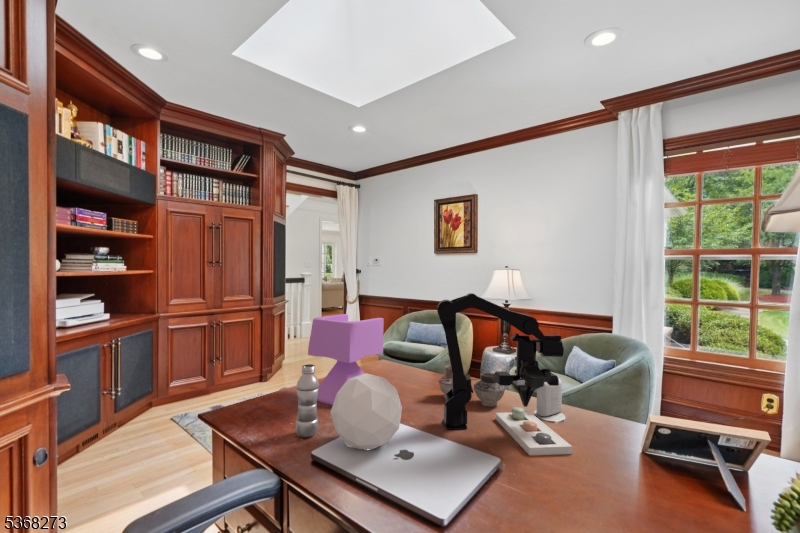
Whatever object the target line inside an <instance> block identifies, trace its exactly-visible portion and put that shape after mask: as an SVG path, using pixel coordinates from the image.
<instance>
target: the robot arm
mask: <svg viewBox="0 0 800 533" xmlns="http://www.w3.org/2000/svg"><path fill="white" fill-rule="evenodd" d="M436 307H437V309H436V310H437V316H438V318H439V320H440V323H441V325H442V328H443V331H444V335H445V341H446V346H447V351H448V356H449V361H450V365H451V368H452V389H451V390H450V391H449V392H447V393H446V399H445V403H444V404H443V419H442V423H443V425H444V427H445V428H446V430H465V429H466V430H467V429H468V426H467V424H468V410H467V406H466V404H468V403H469V402H470V401H471V400H472V396H473V395H472V394H474V388H473V387H472V386H473V385H472V380H471V379H472V378H471V375H470V373H469V374H465V371H464V366H463V361H462V360H463V359H462V356H461V355H462V354H461V351H460V345H459V339H458V335H457V313H460V312H461V313H462V311H465V310H467V309H469V308H475V309H477V310H480V311H482V312H483V313H486V314H489V315H490V316H493V317H495V318H497V319H500V320H502V321H503V322H506V323H508V324H509V325H510V326H512V327H514V328H515V329H516V330H518V331H519V332H521V333H522V334H523V335H521V334H519V333H518V332H515V333H514V334H513V335H511V336H510V337H509V338H510V340H511V341H512V342H516V356H514V360H515V362H516V364H515V366H516V369H514V374H510V373H509V372H508V371H495V372H493V373H494V381H495V382H497V383H498V384H499V385H502V386H506V387H507V386H511V385H514V387H515V388H516V390H517V392H518V394H519V398H520V400H521V403H522V406H523V407H528V406H529V403H530V401H531V398H532V396H533V394H534V392H535V391H537V388H540V387H543V386H544V382H547V383H548V384H549V385H550V386H558V385H559V379H560V378H559V377H558V376H557V375H556V374H555V373H552V371H551V370H550V369H549V368H540V367H539V360H537V354H540V356H541V357H546V358H563V357H564V353H565V350H564V348H565V347H564V345H563V341H562V336H561V335H560V334H544V333H543V332H542V330H541V329H540V328H539V326H540V325H539V321H538V319H537V318H535V317H533V316H531V315H529V314H526V313H522V312H519V311H514V310H511V309H507V308H505V307H502V306H501V305H498V304H496V303H493V302H492V301H489V300H487V299H485V298H482V297H480V296H478V295H477V294H475V293H471V292H470V293H469V292H468V293H467V294H466V295H463V296H460V297H456V298H453V299H451V300H449V299H442V300H440V301H439V303H438V304H437V306H436ZM530 336H532V337H534V338H530ZM558 378H559V379H558Z"/></svg>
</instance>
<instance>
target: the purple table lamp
mask: <svg viewBox="0 0 800 533" xmlns="http://www.w3.org/2000/svg"><path fill="white" fill-rule="evenodd" d="M384 326H385V325H384V317H376V318H375V317H374V318H369V319H363V320H357V321H356V320H353V321H351V320H350V321H349V314H348V313H343V314H335V315H334V314H333V315H328V316H327V315H326V316H318V317H314V318H313V319H312V325H311V329H310V335H309V342H308V346H307V348H308V349H307V351H308V352H307V355H308V356H312V357H322V358H323V357H324V358H330V359H333V360H336V362H335V364H333V367H332V368H331V370H330V371H329V372H328V373H327V374H326V376H325V377H324V379H323V380H322V381H321V382H320V383H319V389H318V396H317V402H319V403H322V404H326V405H330V406H333V403H334V400H335V397H336V394H337V393H338V391H339V390H340V389H341V387H342V386H343V385H344V384H345V382H346V381H347V380H348V379H350V378H353V377H356V376H359V375H362V374H365V372H364V371H363V370H362V368H361V367H360V366H359V365H358V363H357V361H360V360H362V359H364V358H366V357H370V356H377V355H381V354H384V329H385V328H384Z"/></svg>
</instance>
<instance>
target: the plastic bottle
mask: <svg viewBox="0 0 800 533" xmlns="http://www.w3.org/2000/svg"><path fill="white" fill-rule="evenodd" d="M315 373H316V366H315V364H310V363H309V364H303V365H302V366H301V376H299V379H298V380H297V383H296V395H297V416H296V422H295V426H294V427H295V433H296V434H297V436H298V437H300V438H311V437H312V436H315V435H316V434H317V432H318V431H319V430H318V429H319V426H320V424H319V418H318V407H317V406H318V401H317V396H318V389H319V385H320V381H319V379H318V377H317V376H316V374H315Z"/></svg>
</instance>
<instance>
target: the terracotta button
mask: <svg viewBox="0 0 800 533" xmlns="http://www.w3.org/2000/svg"><path fill="white" fill-rule="evenodd" d="M523 430H524V431H526V432H536V431H537V424H536V423H534V422H531V421H525V422H523Z"/></svg>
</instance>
